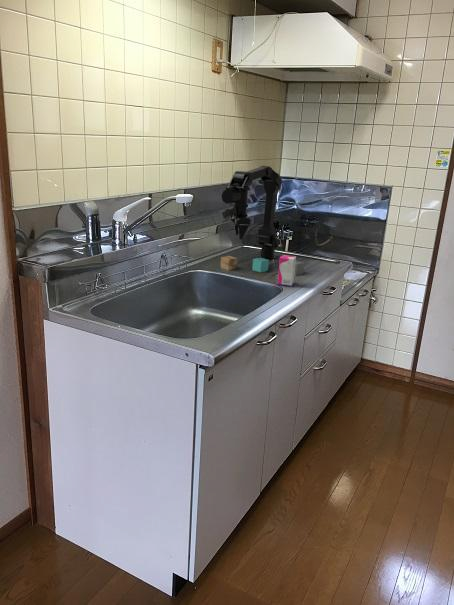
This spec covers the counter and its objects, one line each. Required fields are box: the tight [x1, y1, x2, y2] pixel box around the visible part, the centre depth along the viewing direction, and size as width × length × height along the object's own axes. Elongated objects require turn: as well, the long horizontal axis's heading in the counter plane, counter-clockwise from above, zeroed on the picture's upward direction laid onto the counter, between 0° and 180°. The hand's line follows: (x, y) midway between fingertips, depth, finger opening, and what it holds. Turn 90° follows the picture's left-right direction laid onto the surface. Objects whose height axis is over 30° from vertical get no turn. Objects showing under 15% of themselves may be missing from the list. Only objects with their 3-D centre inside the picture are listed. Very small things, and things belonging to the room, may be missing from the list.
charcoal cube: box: [295, 260, 305, 276], centre depth 218 cm, size 5×5×5 cm
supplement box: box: [277, 254, 297, 288], centre depth 200 cm, size 6×6×12 cm
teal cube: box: [252, 257, 270, 273], centre depth 220 cm, size 5×5×5 cm
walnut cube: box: [220, 255, 238, 271], centre depth 220 cm, size 5×5×5 cm
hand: (238, 237), depth 219 cm, fingers open, 9 cm apart
